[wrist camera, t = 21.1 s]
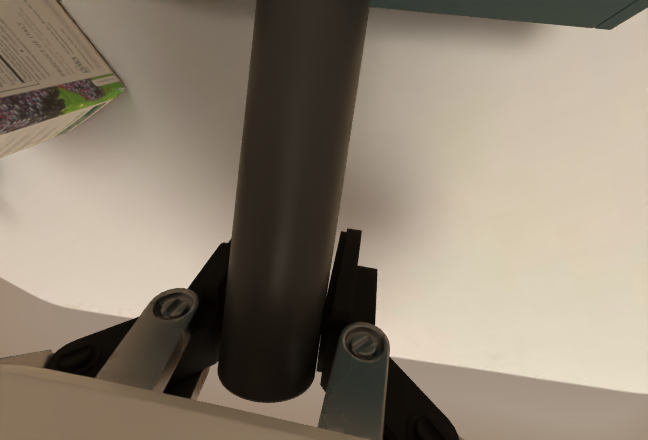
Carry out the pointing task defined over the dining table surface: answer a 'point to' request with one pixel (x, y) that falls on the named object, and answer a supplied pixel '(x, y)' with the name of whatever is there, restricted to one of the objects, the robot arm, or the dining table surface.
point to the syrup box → (47, 74)
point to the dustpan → (315, 172)
